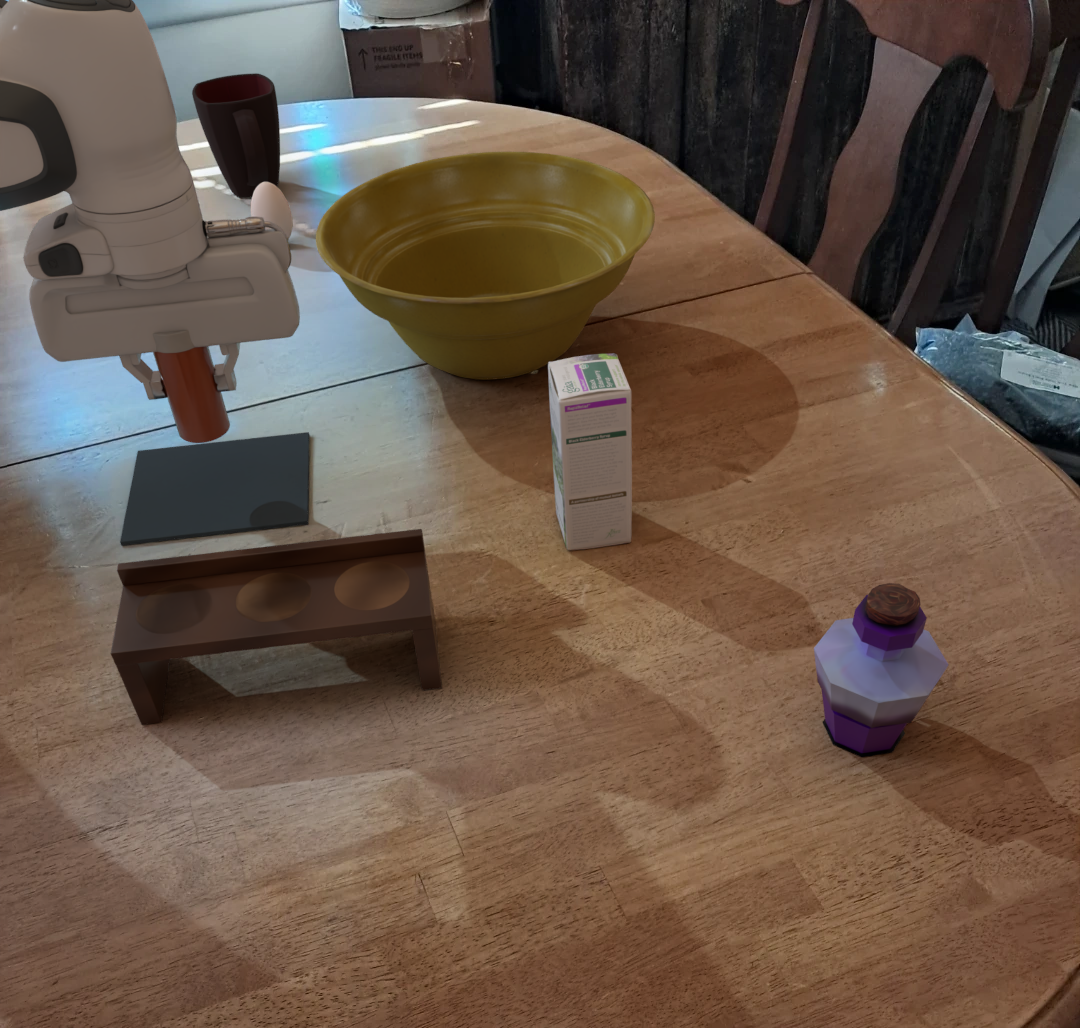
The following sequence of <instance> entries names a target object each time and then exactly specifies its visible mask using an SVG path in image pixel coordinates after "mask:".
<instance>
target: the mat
mask: <svg viewBox="0 0 1080 1028" xmlns="http://www.w3.org/2000/svg"><path fill="white" fill-rule="evenodd" d="M309 497H310V433H309V431H305V432H296V433H288V434H278V435H269V436H259V437H250V438H242V439H233V440H222V441H214V442H213V441H212V442H204V443H194V444H187V445H178V446H167V447H160V448H150V449H141V450H137V453H136V457H135V463H134V468H133V473H132V477H131V483H130V488H129V494H128V499H127V504H126V509H125V515H124V519H123V525H122V530H121V536H120V540H119V543H120V545H121V546H129V545H130V546H131V545H139V544H147V543H157V542H164V541H165V542H166V541H175V540H181V539H182V540H184V539H190V538H191V539H192V538H201V537H207V536H208V537H209V536H218V535H226V534H227V535H228V534H235V533H244V532H245V533H246V532H252V531H254V532H255V531H262V530H270V529H271V530H272V529H280V528H288V527H297V526H306V525H309V511H310V509H309V505H310V499H309Z"/></svg>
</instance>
